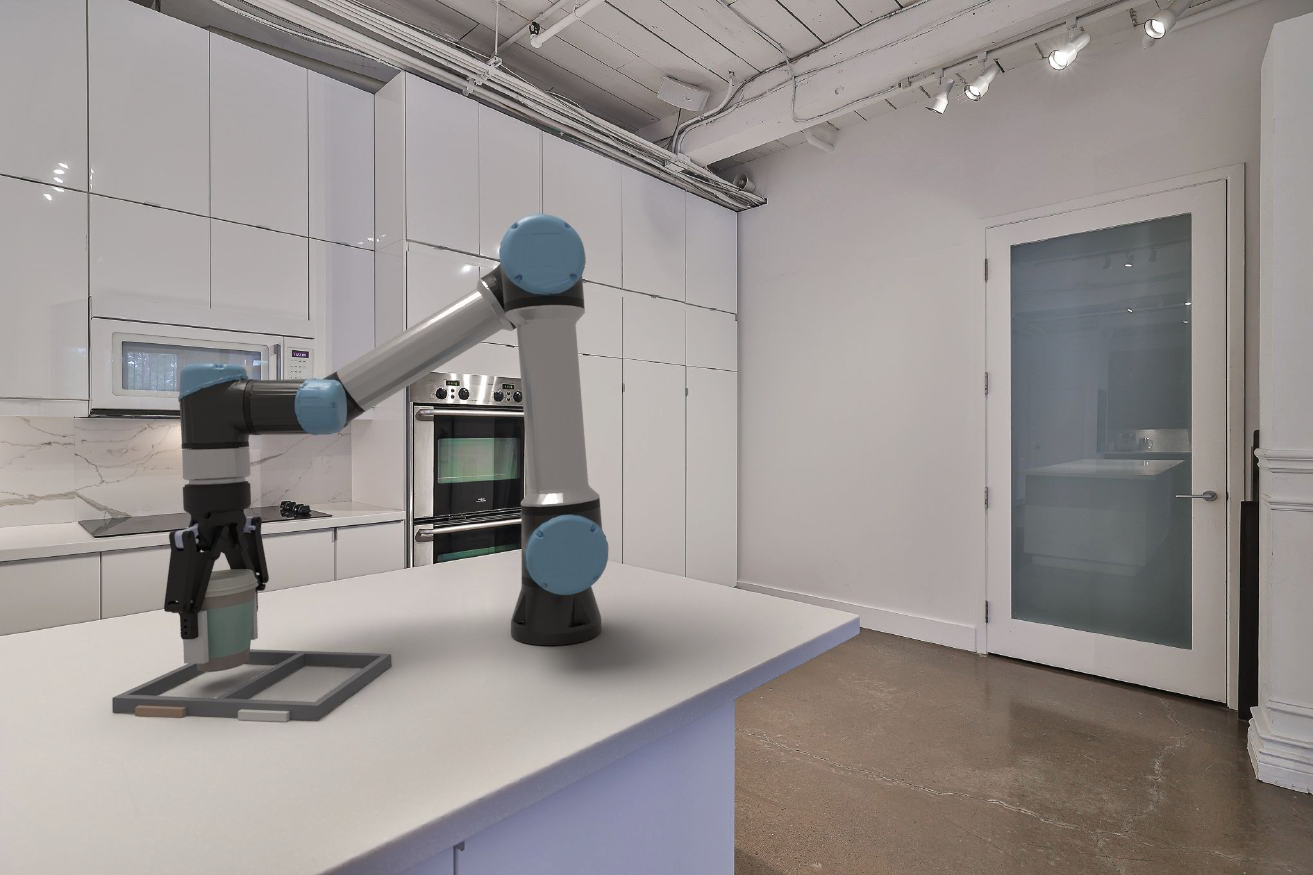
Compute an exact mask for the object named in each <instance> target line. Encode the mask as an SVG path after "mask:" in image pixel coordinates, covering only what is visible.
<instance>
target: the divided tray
mask: <svg viewBox="0 0 1313 875" xmlns="http://www.w3.org/2000/svg"><path fill="white" fill-rule="evenodd" d="M249 664H250V665H265V666H266V665H268V666H269V665H271V666H272V667H270V668H269V669H266V670H265V671H263V672H261V673H259V674H257V675H256V676H254V677H252V678H250V679H248V680H246V681H245V682H243V683H241V684H239V685H237V686H235V687H234V688H232V689H230V690H228V691H226V692H224V693H223V694H221V695H219V696H217V697H202V696H201V697H198V696H197V697H195V696H174V695H173V696H172V695H171V696H170V695H169V696H168V695H161V694H162V693H164V692H166V691H168V690H172V689H173V688H175V687H177V686H178V685H181V684H183V683H186V682H187V681H189V680H191V679H193V678H195V677H197V676H199V675H202V674H203V673H205V672H202V671H199V670H198V669H197V665H196V664H191V663H185V664H184V665H182V666H179V667H177V668H175V669H173V670H171V671H168V672H167V673H164V674H161V675H160V676H157V677H155V678H153V679H151V680H148V681H146V682H144V683H142V684H140V685H137V686H135V687H134V688H133V687H132V688H131V689H128V690H126V691H124V692H122V693H120V694H117V695H115V696H113V697H112V698H111V700H112V701H111V702H112V708H111V710H112V713H115V714H116V713H118V714H134V716H135V717H158V718H177V719H178V718H179V719H181V718H185V717H189V716H190V717H191V716H192V717H216V718H218V717H219V718H237V720H238V721H255V722H257V721H258V722H277V723H278V722H280V723H287V722H289V721H309V722H310V721H314V722H318V721H320V720H321V719H322V718H324V717H325V716H326V715H328V714H329V713H330V712H332V711H333V710H334V709H336V708H337V707H339V706H340V705H341V704H343V703H344V702H345V701H347V700H348V699H350V698H351V697H352V696H353V695H355V694H356V693H357V692H359V691H360V690H362V689H363V688H365V686H367V685H368V684H369V683H371V682H372V681H374V680H375V679H376V678H377V677H379V676H380V675H381V674H383V673H384V672H386V671H387V670H388V669H390V668H391V667H392V653H385V652H384V653H381V652H380V653H376V652H352V651H351V652H348V651H346V652H345V651H318V650H317V651H316V650H291V649H290V650H284V649H283V650H282V649H258V648H257V649H254V648H250V654H249V660H248V662H246V663H245V664H244V665H249ZM304 667H329V668H331V667H333V668H334V667H335V668H360V670H358V671H356V673H354V674H352V675H351V676H350V677H349V678H347V679H346V680H344V681H343V682H341V683H339V685H337V686H336V687H334V688H332V689H331V690H329V691H328V692H326V693H325V694H324V695H322V696H321V697H320V698H318V699H317V700H315V701H307V700H306V701H301V700H277V699H276V700H275V699H274V700H273V699H253V698H252V697H254V696H256V695H258V694H259V693H261V692H262V691H263V692H264V691H265V690H266V689H268V688H269V687H271V686H273V685H276V684H277V683H278V682H279V681H281V680H284V679H285V678H287V677H288V676H290V675H292V674H294V673H295V672H297V671H298V670H300V669H302V668H304ZM251 698H252V699H251Z"/></svg>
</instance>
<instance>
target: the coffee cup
mask: <svg viewBox="0 0 1313 875" xmlns="http://www.w3.org/2000/svg"><path fill="white" fill-rule="evenodd" d="M257 586H258V583H257V579H256V578H255V576H254V573H253V571H252V570H248V569H231V568H230V569H220V570H214V571H213V570H212V573H211V577H210V580H209V583H208V587H207V590H206V594H205V597H204V601H203V604H202V608H201V610H200V611H207V629H208V658H209V662H206V663H204V664H196V665H197V669H198V670H199V671H202V672H204V673H213V672H221V671H222V672H223V671H227V670H232V669H235V668H238V667H241V666H243V665H246V664H245V663H246V662H248V660H249V654H250V649H251V643H252V642H251V641H252V640H251V633H252V623H253V612H254V602H255V591H256V587H257ZM191 603H192V600H191Z"/></svg>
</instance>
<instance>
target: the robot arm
mask: <svg viewBox="0 0 1313 875" xmlns="http://www.w3.org/2000/svg"><path fill="white" fill-rule="evenodd" d="M585 251H586V250H585V247H584V243H583V241H582V239H581V237H580V235H579V233H578V232H577V231H576V230H575V228H574V227H572V226H571V225H570V223H568V222H567V221H565V220H564V219H562V218H560V217H558V216H555V215H551V214H546V213H534V214H529V215H526V216H523V217H521V218H519V219H518V220H516V221H515V222H513V223H512V225H510V226H509V227H508V229H507V231H506V232H505V234H504V235H503V237H502V240H501V242H500V246H499V249H498V254H499V255H498V256H499V258H498V259H499V262H500V263H499V264H498V265H497V266H496V267H495V268H494V269H493V270H491V271H490V272H488V273H487V274H485V275H484V276H481V277H480V278H479V279H477V283H476V284H477V285H476V288H474V289H473V290H471V291H470V292H468V293H467V294H465V295H463V296H461V297H459V298H458V299H456V300H455V301H453V302H451V303H449V304H448V305H446V306H444V307H442V308H441V309H439V310H437V311H435V312H434V313H432V314H431V315H429V316H427V317H425V318H424V319H422V320H420V321H418V322H417V323H415V324H413V325H412V326H409V327H408V328H406V329H405V330H403V331H402V332H400V333H399V334H397V335H396V336H393V337H392V338H389V340H387V341H384V342H383V343H381V344H380V345H378V346H376V347H375V348H373V349H371V350H370V351H368V352H366V353H365V354H362V355H361V356H359V357H357V358H355V360H353V361H351V362H350V363H348V364H346V365H344V366H342V367H341V368H339V369H337V370H336V371H334V372H332V373H330V374H329V375H327V376H326V377H324V378H316V377H315V378H313V377H311V378H307V379H304V378H301V379H300V378H299V379H297V378H296V379H294V378H293V379H253V378H249V376H248V373H247V372H248V371H247V369H246V367H244V366H242V365H239V364H230V363H211V362H210V363H208V362H207V363H206V362H205V363H191V364H187V365H185V366H184V367H182V369H181V371H180V373H179V393H178V394H179V396H178V397H177V399H178V400H177V401H178V403H179V418H180V434H181V452H182V453H181V454H182V478H183V480H185V481H188V483H185V484H184V486H183V487H182V502H183V503H182V504H183V505H182V506H183V507H182V508H183V511H184V512H186V513H188V514H189V515H190V521H189V524H188V526H187V528H185V529H182V530H171V531H170V532H169V533H168V540H169V547H170V557H169V564H168V571H167V573H168V574H167V581H166V589H165V596H164V597H165V598H164V604H163V609H164V610H163V611H164V612H165V613H171V614H178V615H179V624H180V629H179V630H180V638H181V640H182V641H183V642H182V644H183V664H188V663H191V664H204V663H206V662H209V658H208V629H207V611H200V610H201V608H202V604H203V601H204V597H205V594H206V590H207V587H208V583H209V580H210V577H211V573H212V571H213V569H214V566H215V562H216V561H218V560H219V559H220V557H221V554H224V556H225V558H226V559H225V560H226V561H227V564H228V566H229V568H230V569H248V570H252V571H253V573H254V576H255V578H256V579H257V583H258V586H257V587H256V591H255V602H254V612H253V623H252V633H251V641H256V639H258V638H259V633H258V632H259V631H258V630H259V628H258V611H259V605H258V604H259V600H258V599H259V598H258V597H259V595H258V594H259V593H258V592H263V591H265V589H266V587H267V586H266V584H268V583H269V579H270V576H269V572H268V565H267V561H266V554H265V549H264V544H263V542H264V541H263V537H262V521H263V520H262V517H261V516H246V514H245V510H246V509H248V508H250V507H251V505H252V498H251V497H252V496H251V495H252V494H251V492H252V491H251V488H252V487H251V482H249V481H248V480H246V478H249V477H250V476H251V457H250V453H251V452H250V442H249V439H250V436H262V435H263V436H264V435H265V436H270V435H271V436H272V435H273V436H274V435H276V436H278V435H280V436H281V435H282V436H284V435H285V436H290V435H296V436H297V435H313V436H319V435H321V436H322V435H325V436H326V435H333V434H337V433H339V432H341V431H342V430H343V429H344V428H346V427H347V426H348V425H349V424H350V423H351V422H352V421H353V420H355V419H356V418H359V417H360V416H362V415H363V414H364V413H366V412H367V411H369V410H370V409H372V408H374V407H376V406H377V405H379V404H381V403H382V402H383V401H385V400H387V399H389V398H390V397H392V396H394V395H395V394H397V393H398V392H400V391H402V390H404V389H405V388H407V387H409V386H410V385H412V384H413V383H415V382H417V381H419V380H420V379H422V378H423V377H426V376H427V375H429V374H430V373H431V372H433V371H435V370H437V369H439V368H440V367H441V366H443V365H446V364H447V363H449V362H450V361H452V360H453V359H456V358H457V357H459V356H460V355H461V354H464V353H465V352H467V351H468V350H470V349H471V348H473V347H475V346H477V345H478V344H480V343H481V342H483V341H485V340H486V339H488V338H490V337H491V336H494V335H495V334H497V333H498V332H500V331H501V330H505V331H509V332H513V331H514V330H515V329H516V333H517V334H516V335H517V344H518V345H517V346H518V358H519V360H518V361H519V370H520V383H521V384H520V385H521V394H522V397H521V398H522V405H523V406H522V409H523V419H524V420H523V421H524V432H525V443H526V454H527V455H526V458H527V468H528V479H529V482H528V483H529V491H528V493H527V494H526V495H525V496H524V498H523V499H522V500H521V501H520V508H521V510H520V513H519V514H520V515H519V516H520V518H521V586H520V587H521V589H520V591H519V595H518V597H517V600H516V604H515V606H514V611H513V613H512V617H511V619H510V620H511V621H510V635H511V637H512V638H513V639H514V640H516V641H518V642H522V643H525V644H529V645H536V646H537V645H538V646H562V645H569V644H577V643H581V642H586V641H588V640H592V639H594V638H595V637H597V636H599V634H601V632H602V616H601V613H600V612H601V611H600V609H599V607H598V603H597V600H596V597H595V596H596V595H595V593H594V591H593V587H592V586H594V584H595V583H596V582H597V581H598V580H599V579H600V578H601V577H602V575H603V574H604V572H605V570H606V568H607V564H608V560H609V542H608V541H607V536H606V534H605V532H604V530H603V524H602V512H601V511H602V510H601V500H600V497H601V496H600V494H599V493H598V492H596V490H595V489H593V488H592V487H591V486H590V484H589V477H588V476H589V475H588V464H587V462H588V461H587V453H586V439H585V426H584V415H583V414H584V413H583V399H582V389H581V377H580V376H581V375H580V365H579V364H580V363H579V351H578V350H579V349H578V338H577V326H576V325H577V324H578V321H579V320H580V319H581V318H582V317H583V315H585V313H586V311H585V310H586V308H585V296H584V282H583V274H584V271H585V268H586V266H585V265H586V253H585ZM191 600H192V603H191Z"/></svg>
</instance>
